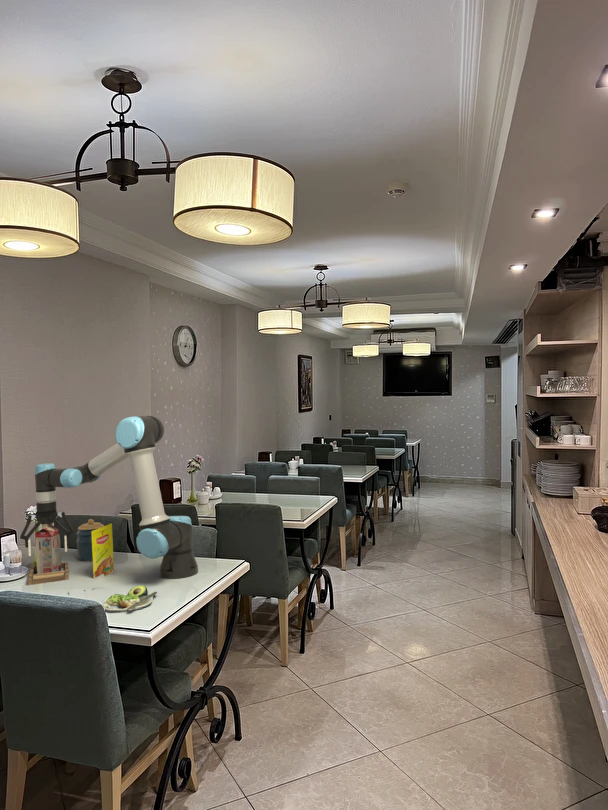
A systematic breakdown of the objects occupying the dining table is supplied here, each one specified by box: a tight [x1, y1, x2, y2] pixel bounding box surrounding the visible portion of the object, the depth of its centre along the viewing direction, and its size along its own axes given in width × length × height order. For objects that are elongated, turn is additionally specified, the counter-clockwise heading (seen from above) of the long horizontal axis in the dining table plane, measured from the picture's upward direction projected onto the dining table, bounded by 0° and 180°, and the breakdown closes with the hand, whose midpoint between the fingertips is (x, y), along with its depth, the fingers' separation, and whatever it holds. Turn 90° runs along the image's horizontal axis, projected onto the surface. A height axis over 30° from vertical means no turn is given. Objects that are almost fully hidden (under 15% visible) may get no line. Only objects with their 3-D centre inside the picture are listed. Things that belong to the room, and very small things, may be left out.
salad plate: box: [102, 584, 158, 613], centre depth 202 cm, size 19×18×5 cm
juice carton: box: [35, 523, 62, 574], centre depth 242 cm, size 7×7×22 cm
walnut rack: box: [27, 561, 70, 586], centre depth 238 cm, size 21×14×4 cm
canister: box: [75, 518, 105, 562], centre depth 271 cm, size 13×13×18 cm
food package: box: [91, 522, 115, 579], centre depth 239 cm, size 15×1×20 cm, turn 168°
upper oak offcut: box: [33, 570, 65, 580], centre depth 233 cm, size 5×11×2 cm, turn 109°
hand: (48, 553), depth 242 cm, fingers open, 13 cm apart
